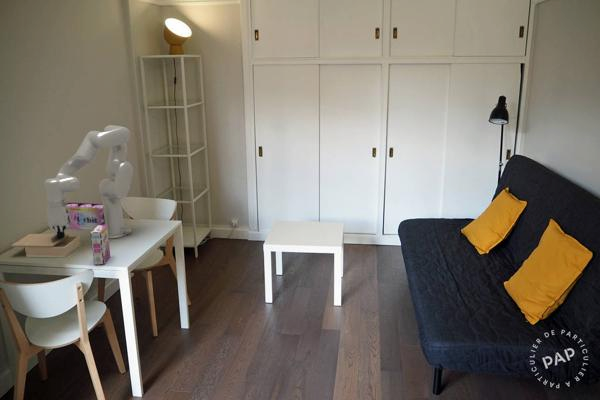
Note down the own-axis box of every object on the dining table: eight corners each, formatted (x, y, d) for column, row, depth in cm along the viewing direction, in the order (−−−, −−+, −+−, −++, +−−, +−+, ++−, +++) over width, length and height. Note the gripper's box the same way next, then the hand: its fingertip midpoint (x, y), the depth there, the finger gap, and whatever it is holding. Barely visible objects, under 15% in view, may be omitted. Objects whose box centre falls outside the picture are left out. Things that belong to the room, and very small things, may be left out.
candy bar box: (104, 265, 241) (100, 232, 236) (93, 265, 240) (89, 232, 236) (111, 256, 251) (107, 224, 247) (100, 256, 251) (96, 224, 246)
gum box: (109, 226, 295) (106, 204, 291) (101, 231, 287) (98, 208, 284) (72, 224, 299) (69, 201, 296) (64, 228, 292) (60, 205, 288)
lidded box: (80, 245, 266) (79, 236, 264) (66, 257, 250) (64, 247, 249) (43, 244, 267) (42, 235, 265) (26, 256, 251) (24, 247, 250)
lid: (68, 235, 265) (67, 229, 264) (52, 247, 249) (51, 240, 248) (30, 235, 266) (29, 229, 265) (11, 246, 250) (10, 240, 249)
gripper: (74, 201, 255) (79, 235, 260) (45, 201, 255) (50, 235, 260) (67, 205, 248) (72, 241, 253) (37, 205, 248) (43, 240, 253)
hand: (61, 238), depth 256 cm, fingers closed
